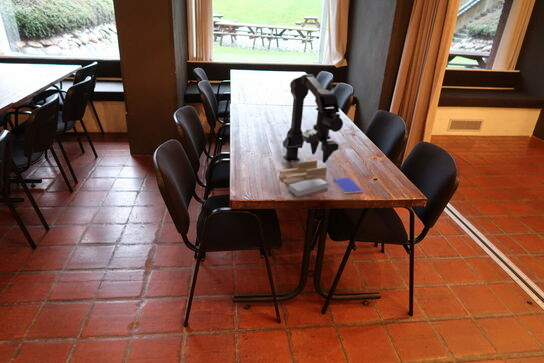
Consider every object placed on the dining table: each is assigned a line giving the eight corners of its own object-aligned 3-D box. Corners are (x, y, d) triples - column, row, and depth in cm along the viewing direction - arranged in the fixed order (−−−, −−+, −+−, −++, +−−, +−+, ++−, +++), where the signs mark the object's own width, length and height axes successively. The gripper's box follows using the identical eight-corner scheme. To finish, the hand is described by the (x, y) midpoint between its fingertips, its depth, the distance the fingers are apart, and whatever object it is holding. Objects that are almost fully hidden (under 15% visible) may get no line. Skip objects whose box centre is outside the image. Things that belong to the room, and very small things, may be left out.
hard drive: (333, 178, 163) (345, 191, 152) (349, 177, 165) (362, 190, 154) (332, 181, 164) (344, 194, 153) (349, 180, 166) (362, 193, 155)
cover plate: (288, 191, 153) (288, 184, 151) (317, 183, 161) (317, 177, 160) (297, 197, 148) (298, 190, 147) (326, 189, 157) (327, 182, 155)
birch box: (278, 176, 164) (279, 164, 161) (315, 171, 171) (316, 160, 169) (287, 185, 157) (288, 172, 154) (325, 179, 164) (327, 167, 162)
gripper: (295, 118, 155) (292, 152, 162) (317, 132, 140) (312, 169, 147) (318, 116, 159) (314, 149, 166) (342, 130, 144) (336, 166, 151)
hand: (318, 158), depth 157 cm, fingers open, 9 cm apart
